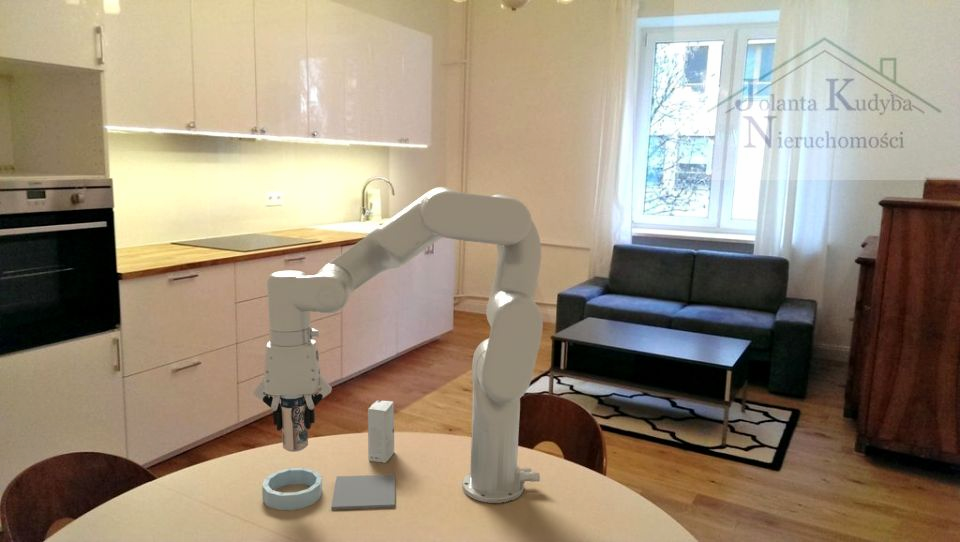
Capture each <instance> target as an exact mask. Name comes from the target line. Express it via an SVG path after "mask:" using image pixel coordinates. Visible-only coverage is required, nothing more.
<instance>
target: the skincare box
mask: <svg viewBox="0 0 960 542" xmlns="http://www.w3.org/2000/svg"><path fill="white" fill-rule="evenodd" d="M367 433H368V435H367V437H368V438H367V441H368V442H367V443H368V444H367V448H368V449H367V450H368V453H367V454H368V456H367V458H368V461H369V462H370V461H371V462H375V463H381V462H382V463H383V464H386V463H387V462H388V461H389V459H391V458H392V456H393V454H394V452H395V404H394V401H392V400H380V399H379V400H376V401H375V402H374V403H372V404H371V405H370V407H368V409H367Z"/></svg>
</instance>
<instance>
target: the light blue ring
mask: <svg viewBox="0 0 960 542" xmlns="http://www.w3.org/2000/svg"><path fill="white" fill-rule="evenodd" d="M288 485H306V486H309V487H308V488H306V489H302V490H299V491H296V492H281V491H277V489H278V488H281V487H284V486H288ZM261 488H262V492H261V493H262V495H261V497H262V501H263V503H264V504H265V505H266V506H267V507H268V508H272V509H275V510H279V511H296V510H300V509H304V508H306V507H309V506H312V505H314V504H315V503H317V501H319V500H320V499H321V498H322V493H323V476H322V475H321V474H320V473H319V472H318V471H317V470H314V469H310V468H306V467H289V468H284V469H281V470H278V471H274V472H273V473H271V474H270V475H268V476H266V477H265V478H264V479H263V483H262V486H261Z"/></svg>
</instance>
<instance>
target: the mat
mask: <svg viewBox="0 0 960 542" xmlns="http://www.w3.org/2000/svg"><path fill="white" fill-rule="evenodd" d="M395 481H396V475H395V474H369V475H341V476H340V475H339V476H338V475H337V476H336V478H335V485H334V488H333V489H334V490H333V496H332V501H331V508H330V509H331V510H332V511H335V510H336V511H337V510H357V509H358V510H359V509H360V510H361V509H362V510H363V509H364V510H365V509H384V508H385V509H386V508H396V482H395Z"/></svg>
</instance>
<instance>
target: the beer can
mask: <svg viewBox="0 0 960 542" xmlns="http://www.w3.org/2000/svg"><path fill="white" fill-rule="evenodd" d="M280 404H281V415H282V429H281V432H282V435H281V437H282V448H283V449H284V450H285V451H287V452H300V451H303V450H304V449H306V448H307V447H308V445H309V436H308V435H309V434H308V433H309V432H308V429H306V415H305V410H306V408H307V403H306V400H305V397H304V395H286V396H281V400H280Z"/></svg>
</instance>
